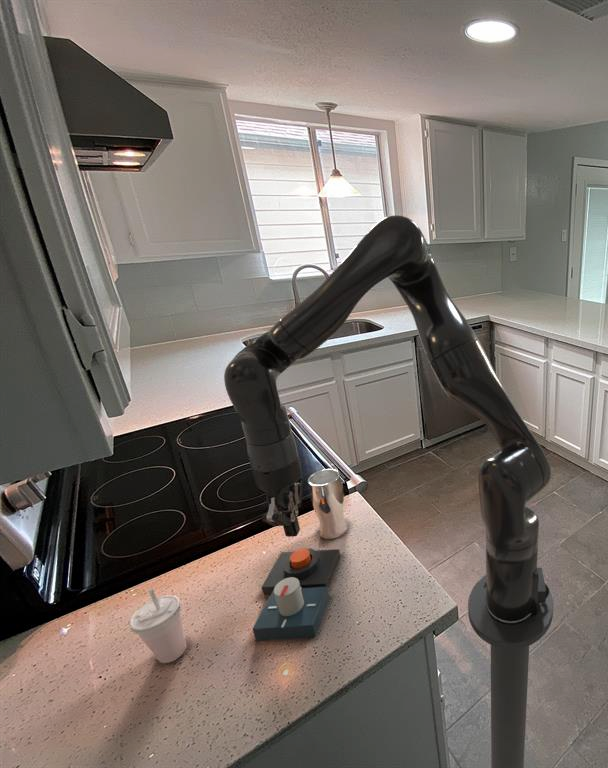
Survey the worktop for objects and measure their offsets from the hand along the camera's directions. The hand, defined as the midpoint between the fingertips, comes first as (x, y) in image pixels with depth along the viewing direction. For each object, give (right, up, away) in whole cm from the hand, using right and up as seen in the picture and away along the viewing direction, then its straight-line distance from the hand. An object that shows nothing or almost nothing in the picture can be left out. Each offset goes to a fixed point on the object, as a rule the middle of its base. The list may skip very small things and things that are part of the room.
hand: (293, 533), depth 80 cm
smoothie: (-15, -17, -10) cm, 24 cm away
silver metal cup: (+1, -6, +17) cm, 18 cm away
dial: (+3, -11, -5) cm, 13 cm away
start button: (0, -7, +3) cm, 8 cm away
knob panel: (+3, -14, -4) cm, 15 cm away
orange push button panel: (0, -10, +5) cm, 11 cm away
